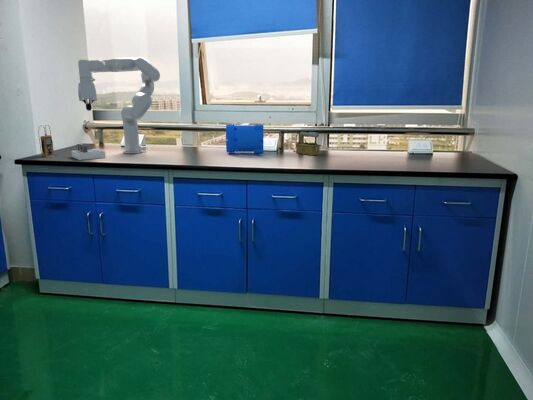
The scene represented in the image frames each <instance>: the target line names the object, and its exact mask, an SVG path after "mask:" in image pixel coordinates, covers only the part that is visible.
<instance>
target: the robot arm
mask: <svg viewBox="0 0 533 400" xmlns="http://www.w3.org/2000/svg"><path fill="white" fill-rule="evenodd" d="M77 63H78V64H77V65H78V74H79V75H78V76H79V82H78V86H77V89H78V90H77V93H78V101H80V102H83V103H84V104H85V108H86V110H87V112H88V111H92V109H93V107H92V104H93V103H94V102H97V101H98V99H97V96H98V95H97V89H96V85H95V81H96V78H93V73H121V72H122V73H125V72H138V71H140V72H141V73H140V77H141V82H142V84H141V86H140V88H139V89H138V90H137V92H136V93H135V94H134V95H133V97H132V98H131V103H132V105H125V106H123V107H122V109H121V111H120V112H121V113H120V115H121V120H122V126H123V138H124V139H123V140H124V141H123V142H124V150H123V151H122V153H123V154H139V153H140V154H141V153H142V152H143V150H146V149H147V146H146V145H144V146H142V145H140V139H139V138H140V137H139V125H138V121H139V120H141V119H142V118H143V117H144V116H145V114H146V113H147V111H148V110H149V109H150V107H151V106H152V104H153V98H152V97H151V96H152V95H153V93H154V90H155V82H159V80H160V78H161V73H160V71H159V69H158V68H156V67H155V66H153V65H152V63H150V62H149V61H148V60H147V59H145V58H144V57H141V56H139V57H138V56H137V57H121V58H120V57H118V58H116V57H115V58H112V59H111V58H110V59H103V60H101V59H95V60H93V59H91V60H89V59H79V60H78V62H77Z"/></svg>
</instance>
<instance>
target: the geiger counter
mask: <svg viewBox="0 0 533 400" xmlns="http://www.w3.org/2000/svg"><path fill="white" fill-rule="evenodd" d="M298 135H300V138H299V139H300V142H299V141H298V142H295V143H294V145H295V147H293V148H291V150H292V151H293V153H296V154H302V155H306V156H317V155H318V156H319V155H320V150H321V149H320V147H322V144H318V143H317V142H307V141H306V139H304V137H307V138H309V137H311V138H319V136H320V134H319V132H315V131H309V132H305V131H300V132H297V133H296V135H295V139H297V138H298V137H297V136H298Z"/></svg>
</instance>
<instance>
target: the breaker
mask: <svg viewBox="0 0 533 400" xmlns="http://www.w3.org/2000/svg"><path fill="white" fill-rule="evenodd" d="M87 149H88V146H87V145H84V146H82V152H88V151H87Z"/></svg>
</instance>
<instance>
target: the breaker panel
mask: <svg viewBox="0 0 533 400" xmlns="http://www.w3.org/2000/svg"><path fill="white" fill-rule="evenodd" d="M87 151H88V152H82V151H80V150H77V149H73V150H71V156H72V157H71V158H74V159H76V160H78V161H82V160H93V159H105V158H106V152H105V150H102V149H99V148H91V149H88V148H87Z"/></svg>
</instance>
